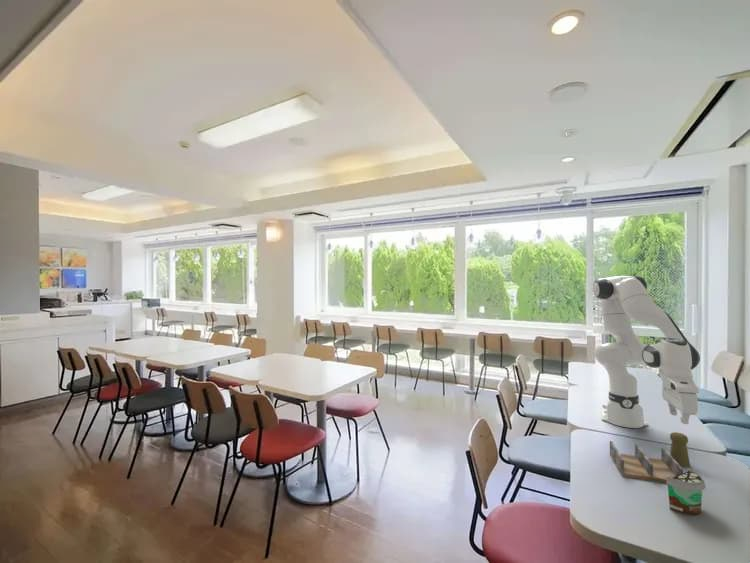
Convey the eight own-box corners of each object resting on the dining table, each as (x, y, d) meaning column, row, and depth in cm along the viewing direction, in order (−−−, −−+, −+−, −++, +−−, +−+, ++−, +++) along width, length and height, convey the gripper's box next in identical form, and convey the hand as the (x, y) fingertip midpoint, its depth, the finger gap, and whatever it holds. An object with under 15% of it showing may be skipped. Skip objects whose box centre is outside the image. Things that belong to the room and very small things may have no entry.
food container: (692, 523, 98) (691, 487, 98) (667, 510, 103) (666, 477, 103) (715, 511, 102) (714, 477, 103) (689, 499, 108) (688, 467, 108)
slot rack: (609, 455, 137) (609, 440, 137) (664, 462, 130) (663, 447, 130) (621, 476, 122) (621, 459, 122) (683, 486, 115) (683, 468, 115)
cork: (694, 467, 126) (693, 437, 127) (675, 466, 128) (674, 436, 128) (683, 459, 132) (682, 430, 133) (665, 458, 134) (664, 429, 134)
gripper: (656, 375, 141) (657, 409, 141) (678, 388, 122) (680, 427, 122) (675, 376, 139) (677, 410, 138) (701, 389, 120) (703, 430, 119)
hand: (678, 418), depth 130 cm, fingers open, 8 cm apart
